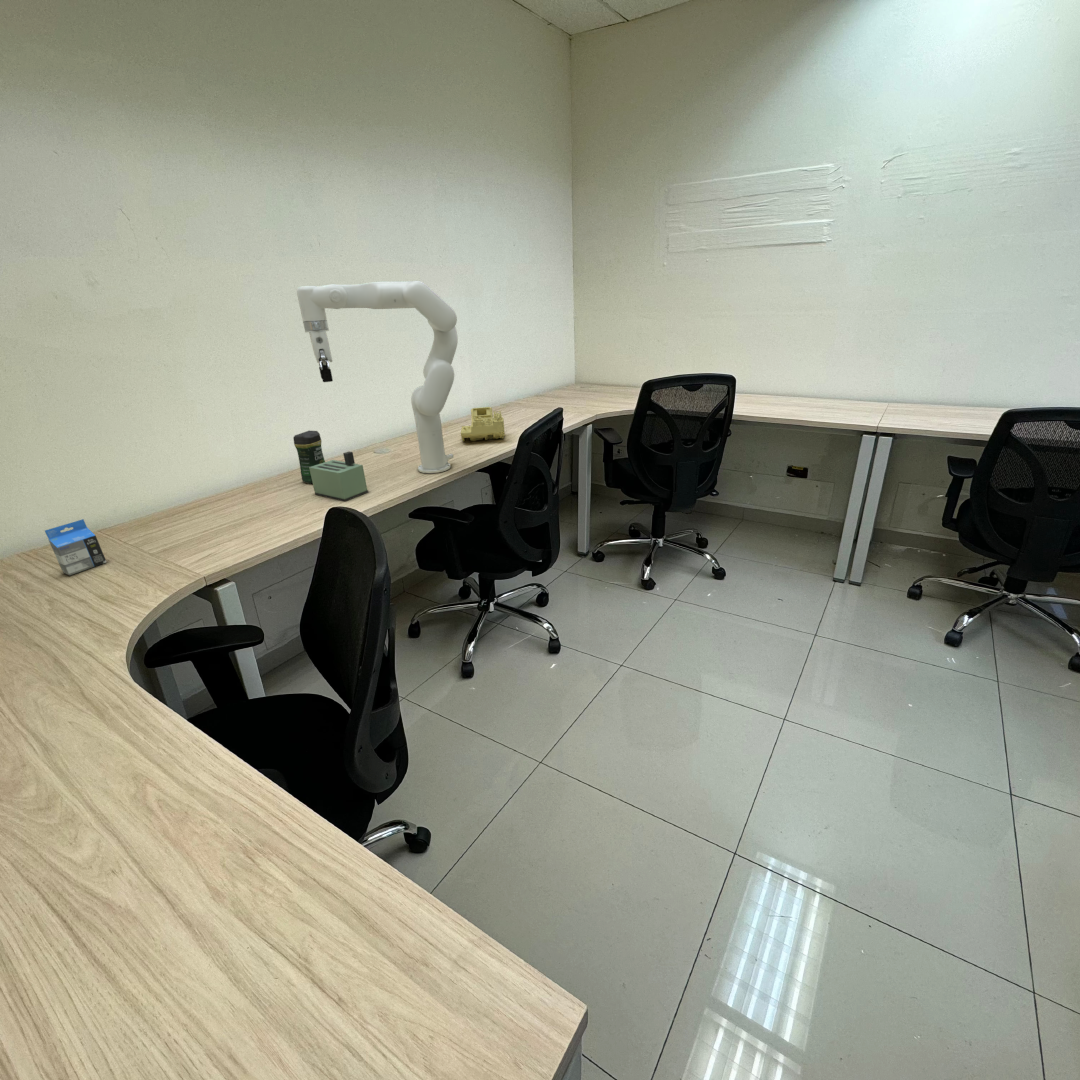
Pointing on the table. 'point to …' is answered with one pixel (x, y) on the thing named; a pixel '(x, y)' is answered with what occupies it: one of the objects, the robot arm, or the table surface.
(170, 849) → the table surface
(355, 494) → the toaster
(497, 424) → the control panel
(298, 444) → the coffee jar
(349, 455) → the slider
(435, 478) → the table surface
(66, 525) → the tape cartridge
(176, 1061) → the table surface
